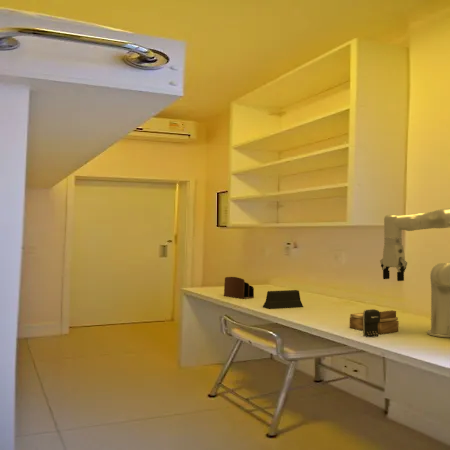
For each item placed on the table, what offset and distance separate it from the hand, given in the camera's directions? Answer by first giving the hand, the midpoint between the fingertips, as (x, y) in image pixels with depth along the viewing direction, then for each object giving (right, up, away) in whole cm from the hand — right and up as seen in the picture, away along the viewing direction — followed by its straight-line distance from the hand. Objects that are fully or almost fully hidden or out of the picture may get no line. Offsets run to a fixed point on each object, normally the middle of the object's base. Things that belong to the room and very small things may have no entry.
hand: (393, 279), depth 222 cm
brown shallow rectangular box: (-8, -24, +4) cm, 25 cm away
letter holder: (-67, -25, +114) cm, 134 cm away
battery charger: (-13, -23, -10) cm, 28 cm away
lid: (-8, -18, +4) cm, 20 cm away
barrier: (-42, -25, +71) cm, 86 cm away
